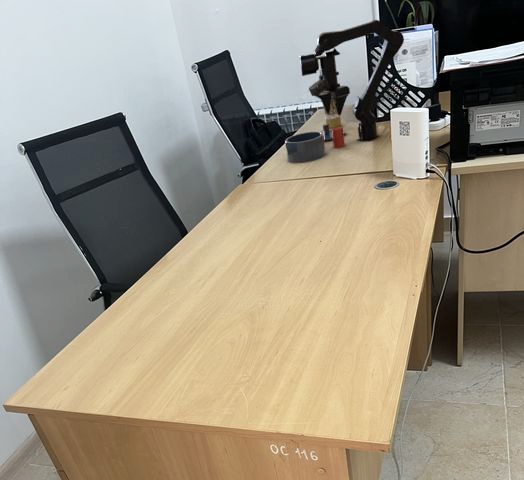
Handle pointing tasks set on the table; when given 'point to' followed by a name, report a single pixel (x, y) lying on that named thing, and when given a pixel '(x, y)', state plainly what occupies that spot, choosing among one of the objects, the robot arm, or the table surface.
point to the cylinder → (338, 137)
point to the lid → (328, 132)
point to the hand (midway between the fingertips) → (333, 114)
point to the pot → (305, 147)
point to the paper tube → (332, 114)
